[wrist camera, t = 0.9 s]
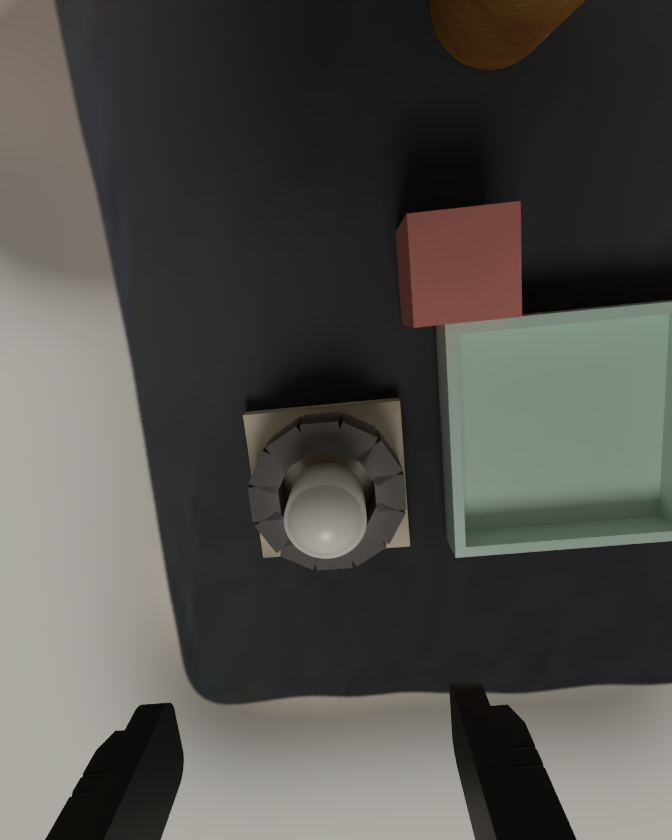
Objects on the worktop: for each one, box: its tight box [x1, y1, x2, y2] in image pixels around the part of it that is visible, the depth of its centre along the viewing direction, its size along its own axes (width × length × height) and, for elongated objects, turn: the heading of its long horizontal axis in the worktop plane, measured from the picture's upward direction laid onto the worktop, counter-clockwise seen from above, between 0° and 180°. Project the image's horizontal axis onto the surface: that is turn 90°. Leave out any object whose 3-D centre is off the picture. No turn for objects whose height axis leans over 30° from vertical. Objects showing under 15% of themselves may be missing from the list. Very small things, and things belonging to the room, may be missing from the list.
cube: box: [395, 201, 522, 328], centre depth 24 cm, size 5×5×5 cm
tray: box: [436, 300, 672, 558], centre depth 27 cm, size 13×13×3 cm
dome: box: [284, 462, 367, 559], centre depth 24 cm, size 4×4×4 cm
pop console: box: [243, 398, 410, 570], centre depth 27 cm, size 9×9×4 cm
